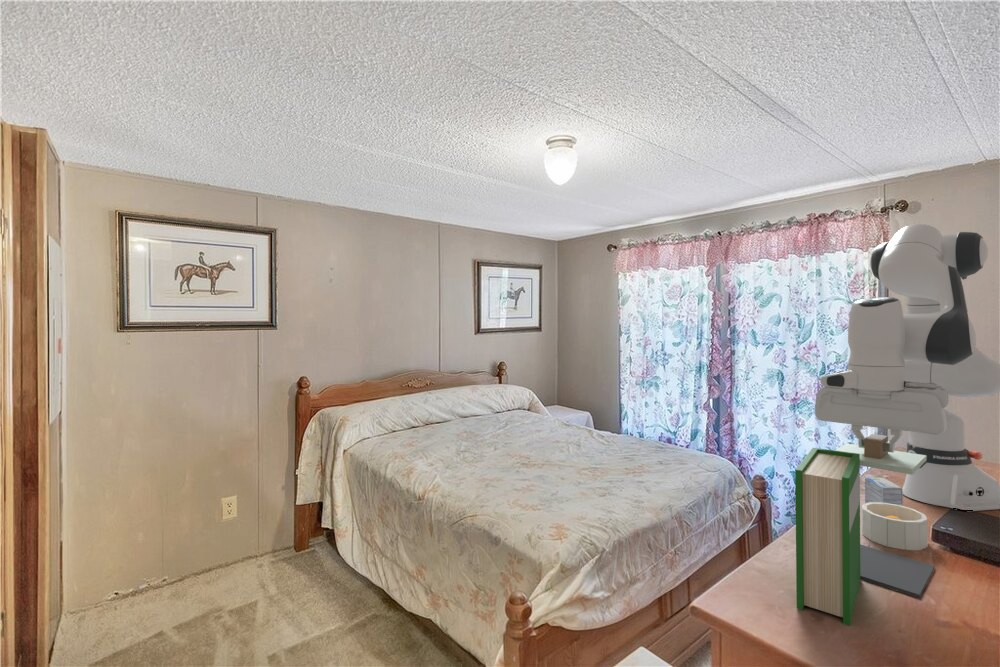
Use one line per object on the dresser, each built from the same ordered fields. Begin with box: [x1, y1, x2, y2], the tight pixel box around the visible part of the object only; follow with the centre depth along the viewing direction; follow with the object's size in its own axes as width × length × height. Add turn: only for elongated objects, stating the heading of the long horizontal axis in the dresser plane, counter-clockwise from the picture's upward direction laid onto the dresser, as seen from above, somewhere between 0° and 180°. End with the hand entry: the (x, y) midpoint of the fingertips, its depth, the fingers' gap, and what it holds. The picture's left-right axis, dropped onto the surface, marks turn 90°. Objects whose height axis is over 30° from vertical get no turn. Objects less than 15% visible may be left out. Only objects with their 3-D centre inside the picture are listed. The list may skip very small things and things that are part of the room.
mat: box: [860, 543, 936, 599], centre depth 94 cm, size 15×15×1 cm
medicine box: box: [864, 476, 904, 506], centre depth 117 cm, size 8×4×9 cm, turn 168°
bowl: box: [861, 502, 928, 551], centre depth 106 cm, size 11×11×6 cm
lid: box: [834, 433, 926, 475], centre depth 93 cm, size 13×13×4 cm
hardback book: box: [794, 447, 862, 627], centre depth 85 cm, size 18×7×24 cm, turn 138°
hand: (876, 449), depth 93 cm, fingers closed on lid, 2 cm apart
